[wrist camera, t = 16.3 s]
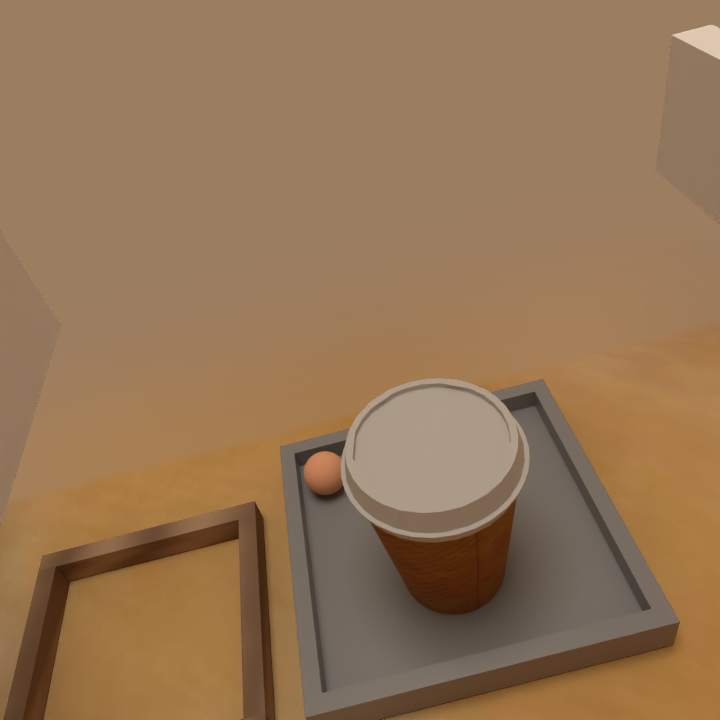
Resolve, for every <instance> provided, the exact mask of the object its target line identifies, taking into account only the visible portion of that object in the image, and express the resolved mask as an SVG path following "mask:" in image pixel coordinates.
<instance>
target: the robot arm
mask: <svg viewBox="0 0 720 720" xmlns="http://www.w3.org/2000/svg"><path fill="white" fill-rule="evenodd" d="M656 172H657V173H658V174H659V175H661V176H662V177H663V178H664V179H665V180H666V181H668V182H669V183H670V184H671V185H673V186H674V187H675V188H676V189H677V190H678V191H680V192H681V193H682V194H683V195H684V196H685V197H687V198H688V199H689V200H690V201H691V202H693V203H694V204H695V205H696V206H697V207H698V208H700V209H701V210H702V211H703V212H705V213H706V214H707V215H708V216H709V217H710V218H712V219H713V220H714V221H715V222H716V223H718V224H719V225H720V28H718V27H716V26H713V25H709V26H705V27H701V28H697V29H693V30H689V31H685V32H682V33H678V34H674V35H672V37H671V45H670V54H669V62H668V71H667V79H666V88H665V96H664V105H663V113H662V122H661V130H660V138H659V147H658V156H657V164H656ZM60 328H61V324H60V322H59V321H58V319H57V318H56V316H55V314H54V313H53V311H52V310H51V308H50V307H49V305H48V304H47V302H46V300H45V299H44V298H43V296H42V294H41V293H40V291H39V290H38V288H37V287H36V285H35V283H34V282H33V280H32V279H31V277H30V276H29V274H28V273H27V271H26V270H25V268H24V266H23V265H22V263H21V262H20V260H19V259H18V257H17V256H16V254H15V252H14V251H13V250H12V248H11V246H10V245H9V243H8V242H7V240H6V239H5V237H4V235H3V234H2V232H1V231H0V525H1V522H2V519H3V515H4V512H5V509H6V505H7V502H8V499H9V496H10V492H11V489H12V486H13V482H14V479H15V476H16V473H17V469H18V466H19V462H20V459H21V456H22V453H23V449H24V446H25V443H26V440H27V436H28V433H29V430H30V427H31V423H32V420H33V417H34V413H35V410H36V407H37V404H38V400H39V397H40V394H41V390H42V387H43V384H44V380H45V377H46V374H47V370H48V367H49V364H50V361H51V357H52V354H53V351H54V348H55V344H56V341H57V338H58V334H59V331H60Z"/></svg>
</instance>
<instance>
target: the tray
mask: <svg viewBox="0 0 720 720" xmlns="http://www.w3.org/2000/svg"><path fill="white" fill-rule="evenodd" d="M490 393H491V394H493V395H494V396H496V397H497V398H498V399H499V400H500V401H501V402H502V403H503V404H504V405H505V406H506V407H507V409H508V410H509V412H510V413H511V414H512V416H513V417H514V418H515V419H516V420H517V422H518V423H519V425H520V426H521V428H522V430H523V432H524V434H525V436H526V439H527V443H528V446H529V457H530V460H529V471H528V474H527V477H526V480H525V483H524V486H523V488H522V490H521V492H520V493H519V495H518V497H517V500H516V506H515V512H514V518H513V524H512V531H511V538H510V544H509V550H508V556H507V563H506V569H505V576H504V580H503V583H502V585H501V587H500V589H499V591H498V593H497V594H496V595H495V596H494V597H493V599H492V600H491V601H489V602H488V603H487V604H486V605H484V606H482V607H480V608H479V609H477V610H475V611H472V612H468V613H465V614H456V615H455V614H442V613H439V612H435V611H432V610H430V609H428V608H426V607H424V606H423V605H422V604H420V603H419V602H418V601H417V600H416V599H415V598H414V597H413V596H412V595H411V593H410V592H409V590H408V588H407V587H406V584H405V583H404V581H403V579H402V577H401V575H400V574H399V572H398V570H397V568H396V567H395V565H394V563H393V561H392V560H391V558H390V556H389V554H388V553H387V551H386V549H385V547H384V545H383V544H382V542H381V540H380V538H379V537H378V535H377V533H376V531H375V529H374V528H373V526H372V524H371V522H370V521H368V520H367V519H366V518H364V517H363V516H362V515H361V514H360V513H359V512H358V511H357V510H356V508H355V507H354V506H353V504H352V503H351V501H350V499H349V497H348V496H347V494H346V492H345V490H344V486H342V487H341V488H340V489H339V490H338V491H337V492H335V493H333V494H330V495H320V494H317V493H315V492H313V491H312V490H311V489H310V488H309V487H308V486H307V484H306V482H305V480H304V467H305V464H306V462H307V461H308V459H309V458H310V457H311V456H313V455H314V454H316V453H318V452H323V451H328V452H332V453H335V454H336V455H338V456H339V457H340V458H341V459H342V454H343V449H344V447H345V443H346V439H347V436H348V432H349V430H350V429H346V430H343V431H339V432H335V433H331V434H327V435H323V436H319V437H315V438H312V439H308V440H304V441H300V442H296V443H292V444H288V445H284V446H280V452H281V463H282V473H283V484H284V495H285V505H286V516H287V527H288V537H289V548H290V559H291V569H292V580H293V591H294V601H295V612H296V623H297V633H298V644H299V655H300V665H301V676H302V687H303V697H304V708H305V718H306V719H307V720H381V719H385V718H389V717H393V716H397V715H401V714H404V713H408V712H412V711H416V710H420V709H424V708H428V707H432V706H436V705H440V704H444V703H448V702H451V701H455V700H459V699H463V698H467V697H471V696H475V695H479V694H483V693H487V692H491V691H495V690H498V689H502V688H506V687H510V686H514V685H518V684H522V683H526V682H530V681H534V680H538V679H542V678H545V677H549V676H553V675H557V674H561V673H565V672H569V671H573V670H577V669H581V668H585V667H589V666H592V665H596V664H600V663H604V662H608V661H612V660H616V659H620V658H624V657H628V656H632V655H636V654H639V653H643V652H647V651H651V650H655V649H659V648H663V647H667V646H671V645H673V644H674V640H675V637H676V633H677V630H678V627H679V623H680V621H679V620H678V618H677V616H676V614H675V613H674V611H673V609H672V607H671V605H670V604H669V602H668V600H667V598H666V597H665V595H664V593H663V591H662V589H661V588H660V586H659V584H658V582H657V581H656V579H655V577H654V575H653V573H652V572H651V570H650V568H649V566H648V565H647V563H646V561H645V559H644V557H643V556H642V554H641V552H640V550H639V549H638V547H637V545H636V543H635V541H634V540H633V538H632V536H631V534H630V533H629V531H628V529H627V527H626V525H625V524H624V522H623V520H622V518H621V517H620V515H619V513H618V511H617V509H616V508H615V506H614V504H613V502H612V501H611V499H610V497H609V495H608V493H607V492H606V490H605V488H604V486H603V485H602V483H601V481H600V479H599V477H598V476H597V474H596V472H595V470H594V469H593V467H592V465H591V463H590V461H589V460H588V458H587V456H586V454H585V453H584V451H583V449H582V447H581V445H580V444H579V442H578V440H577V438H576V437H575V435H574V433H573V431H572V430H571V428H570V426H569V424H568V422H567V421H566V419H565V417H564V415H563V414H562V412H561V410H560V408H559V406H558V405H557V403H556V401H555V399H554V398H553V396H552V394H551V392H550V390H549V389H548V387H547V385H546V383H545V382H544V380H543V379H541V380H537V381H533V382H529V383H525V384H521V385H517V386H514V387H510V388H506V389H502V390H498V391H494V392H490Z"/></svg>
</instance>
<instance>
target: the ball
mask: <svg viewBox="0 0 720 720" xmlns="http://www.w3.org/2000/svg"><path fill="white" fill-rule="evenodd" d="M304 480H305V482H306V484H307V486H308V487H309V488H310V489H311V490H312V491H313V492H315V493H317V494H320V495H330V494H333V493H335V492H337V491H338V490H339V489H340V488H341V487H342V486H343V482H342V479H341V458H340V457H339V456H338V455H336V454H335V453H332V452H328V451H323V452H318V453H316V454H314V455H313V456H311V457H310V458H309V459H308V461H307V462H306V464H305V467H304Z"/></svg>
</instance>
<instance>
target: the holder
mask: <svg viewBox="0 0 720 720" xmlns="http://www.w3.org/2000/svg"><path fill="white" fill-rule="evenodd" d="M236 538H239V558H240V596H241V634H242V673H243V711H244V719H241V720H275V709H274V692H273V676H272V659H271V642H270V626H269V609H268V593H267V576H266V560H265V543H264V527H263V517H262V515H261V513H260V511H259V509H258V507H257V505H256V503H255V501H254V502H250V503H246V504H242V505H238V506H234V507H230V508H227V509H223V510H219V511H215V512H211V513H207V514H203V515H199V516H195V517H192V518H188V519H184V520H180V521H176V522H172V523H168V524H164V525H160V526H157V527H153V528H149V529H145V530H141V531H137V532H133V533H129V534H125V535H122V536H118V537H114V538H110V539H106V540H102V541H98V542H94V543H90V544H87V545H83V546H79V547H75V548H71V549H67V550H63V551H59V552H55V553H52V554H48V555H44V556H42V559H41V564H40V568H39V572H38V576H37V581H36V585H35V589H34V593H33V598H32V602H31V606H30V610H29V614H28V619H27V623H26V627H25V631H24V636H23V640H22V644H21V648H20V653H19V657H18V661H17V665H16V670H15V674H14V678H13V682H12V686H11V691H10V695H9V699H8V703H7V708H6V712H5V716H4V720H43V717H44V712H45V707H46V701H47V696H48V691H49V686H50V681H51V675H52V670H53V665H54V660H55V655H56V650H57V644H58V639H59V634H60V629H61V624H62V619H63V613H64V608H65V603H66V598H67V593H68V587H69V582H70V581H73V580H77V579H80V578H84V577H88V576H92V575H96V574H100V573H104V572H108V571H112V570H116V569H119V568H123V567H127V566H131V565H135V564H139V563H143V562H147V561H151V560H154V559H158V558H162V557H166V556H170V555H174V554H178V553H182V552H186V551H189V550H193V549H197V548H201V547H205V546H209V545H213V544H217V543H221V542H225V541H228V540H232V539H236Z"/></svg>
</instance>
